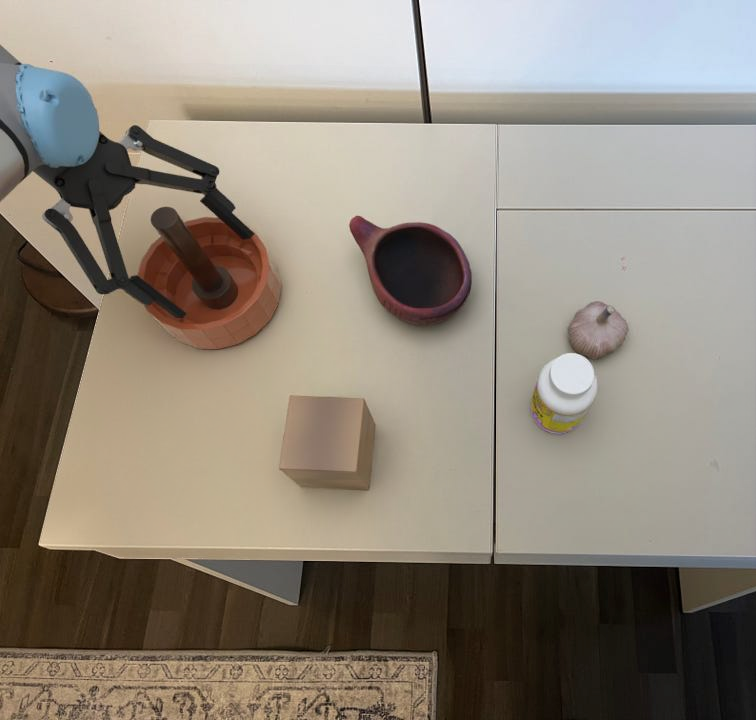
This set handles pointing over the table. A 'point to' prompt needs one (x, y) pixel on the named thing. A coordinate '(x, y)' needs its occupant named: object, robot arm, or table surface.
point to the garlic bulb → (597, 330)
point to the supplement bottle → (563, 393)
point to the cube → (328, 443)
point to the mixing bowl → (175, 283)
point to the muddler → (195, 260)
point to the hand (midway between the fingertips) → (216, 275)
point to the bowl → (414, 269)
